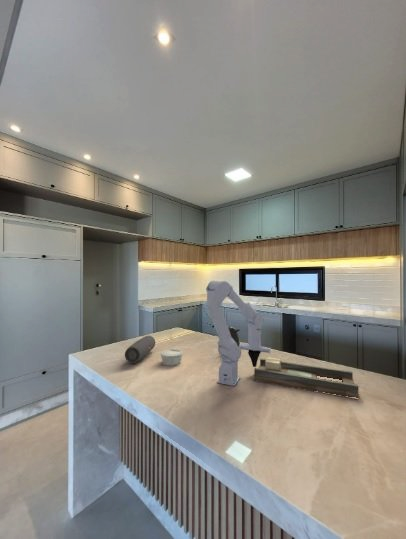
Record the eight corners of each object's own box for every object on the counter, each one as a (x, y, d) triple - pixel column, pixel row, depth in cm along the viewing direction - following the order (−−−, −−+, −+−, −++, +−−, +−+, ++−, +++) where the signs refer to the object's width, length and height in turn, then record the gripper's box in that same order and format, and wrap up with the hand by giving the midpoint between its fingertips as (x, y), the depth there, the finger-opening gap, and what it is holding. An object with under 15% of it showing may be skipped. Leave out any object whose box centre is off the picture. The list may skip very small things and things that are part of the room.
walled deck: (358, 399, 89) (358, 387, 89) (253, 380, 105) (253, 370, 105) (351, 381, 105) (351, 370, 105) (261, 366, 121) (261, 357, 121)
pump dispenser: (235, 356, 135) (235, 329, 135) (219, 353, 141) (219, 327, 141) (243, 352, 143) (243, 326, 143) (228, 348, 149) (228, 324, 150)
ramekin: (184, 359, 131) (184, 349, 132) (180, 367, 120) (180, 356, 120) (164, 358, 133) (164, 348, 133) (158, 366, 121) (158, 355, 122)
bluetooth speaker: (140, 366, 121) (141, 346, 122) (123, 365, 123) (123, 345, 123) (156, 351, 144) (156, 334, 144) (141, 350, 145) (141, 334, 145)
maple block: (279, 374, 106) (279, 363, 106) (265, 372, 109) (265, 361, 109) (280, 369, 112) (280, 359, 112) (267, 367, 114) (267, 357, 114)
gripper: (271, 336, 114) (271, 365, 114) (241, 333, 120) (241, 361, 120) (269, 340, 108) (269, 371, 108) (237, 337, 114) (237, 366, 114)
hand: (254, 366), depth 114 cm, fingers closed
